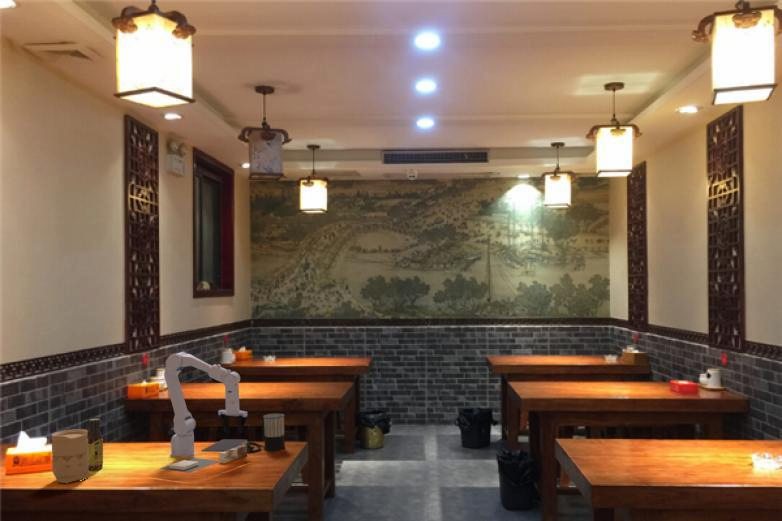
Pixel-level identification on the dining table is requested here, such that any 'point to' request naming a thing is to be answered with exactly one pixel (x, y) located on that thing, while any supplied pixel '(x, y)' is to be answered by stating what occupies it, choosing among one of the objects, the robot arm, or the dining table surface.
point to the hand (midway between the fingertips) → (233, 432)
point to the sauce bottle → (95, 445)
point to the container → (70, 455)
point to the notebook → (225, 445)
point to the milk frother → (271, 434)
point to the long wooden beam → (233, 454)
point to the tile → (184, 465)
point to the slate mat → (202, 464)
